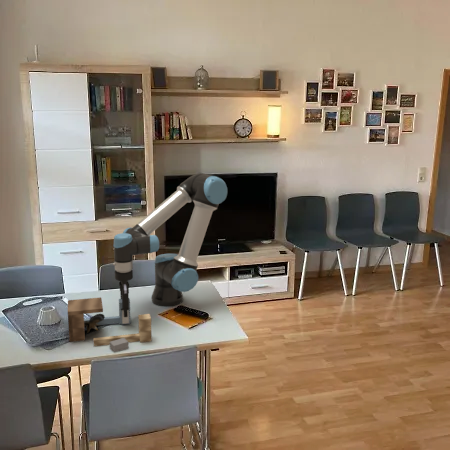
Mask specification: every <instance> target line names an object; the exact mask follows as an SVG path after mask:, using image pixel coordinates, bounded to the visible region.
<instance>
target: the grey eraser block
mask: <svg viewBox="0 0 450 450" xmlns="http://www.w3.org/2000/svg"><path fill="white" fill-rule="evenodd" d="M109 349H110V350H111V351H112V352H113V353H118V352H120V351H123V350H128V349H129V342H128V341H127V340H126V339H125V338H121V339H118V340H114V341H111V342H110V345H109Z"/></svg>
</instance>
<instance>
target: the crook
mask: <svg viewBox="0 0 450 450" xmlns="http://www.w3.org/2000/svg"><path fill="white" fill-rule="evenodd" d="M130 301H131V300H130V298H129V323H125V324H124V325H129V324H130V325H131V302H130ZM121 309H122V299H121V298H118V314H119V315H118V316H117V315H116V316H114V315H113V316H105V317H104V320H103V321H100V322H98V323H96V324H98V325H97V326H99V325H101V326H102V325H115V324H119V325H121V326H122V325H123V324H122V310H121ZM90 318H91V317H90ZM90 318H84V321H86V322H89V320H90Z"/></svg>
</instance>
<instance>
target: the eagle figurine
mask: <svg viewBox="0 0 450 450" xmlns="http://www.w3.org/2000/svg"><path fill="white" fill-rule="evenodd" d="M104 317H106V316H105V315H104V314H103V313H95V315H93V316H91V317H90V320H89V322H86V321H84V330H86V334H88V333H90V331H91V329H93V330H95V331H99V330H98V327H97V326H102V325H98V324H96V323H98V322H100V321H103V320H104Z"/></svg>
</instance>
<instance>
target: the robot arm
mask: <svg viewBox="0 0 450 450" xmlns="http://www.w3.org/2000/svg"><path fill="white" fill-rule="evenodd" d="M227 196H228V187H227V184H226V182H225V181H224V180H223V179H222V178H221V177H219V176H216V175H210V174H207V173H196V174H193V175H191V176H189V177H188V178H187V179H185V180H184V181H183V182H181V183H180V184H179V185H178V186H177V187H176V191H174V192H173V193H171V195H170V196H168V197H167V198H166V199H164V201H163V202H161V203H160V204H158V206H156V208H154V209H152V211H150V213H148V214H147V215H146V216H145V217H144V218H143V219H141V220H140V221H139V222H138V223H136V225H134V226H133V227H127V228H125V229H123V232H122V233H117V234H115V235H114V237H113V256H114V257H113V258H114V262H113V263H112V265H113V266H114V279H115V281H118V285H119V292H120V295H119V296H120V299H122V309H121V310H122V324H121V325H126V324H125V323H129V299H130V297H129V293H130V283H129V281H131V280H132V279H133V277H134V272H133V268H134V263H133V262H134V261H133V257H134V256H138V255H145V254H153V253H156V252H158V251H159V249H160V240H159V237H158V236H157V235H156V234H153V232H155V231H156V230H157V229H158V228H160V226H162V225H163V224H164V223H165V222H167V220H169V219H170V218H171V217H172V216H173V215H175V214H176V213H177V212H178V211H179V210H180V209H181V208H182V207H184V206H185V205H186V204H187V203H192V202H193V203H194V207H193V210H192V214H191V216H190V219H189V222H188V225H187V228H186V231H185V234H184V237H183V240H182V243H181V245H180V248H179V252H178V253H164V254H163V253H162V254H159V255H157V256H155V258H154V280H155V283H154V284H155V285H154V287H153V292H152V295H151V302H152V303H153V304H155V305H156V306H160V307H173V306H177V305H180V304H181V303H182V302H183V301H184V294H183V293H186V292H190V291H191V290H193V289H194V288H195V287H196V285H197V284H198V281H199V274H198V271H197V269H198V266H199V264H198V262H197V260H198V256H199V253H200V250H201V247H202V245H203V242H204V238H205V236H206V232H207V229H208V226H209V225H210V220H211V218H212V215H213V212H214V211H216V210H218V207H219V204H222V203H223V202H224V201H225V200H226V199H227Z"/></svg>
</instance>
